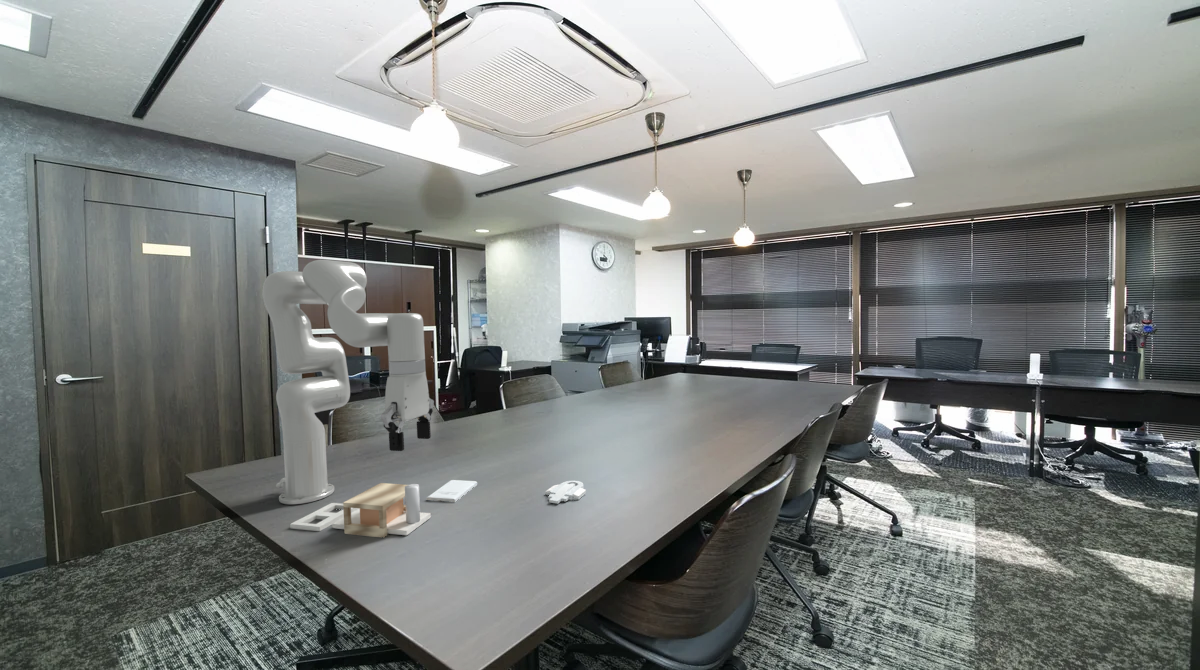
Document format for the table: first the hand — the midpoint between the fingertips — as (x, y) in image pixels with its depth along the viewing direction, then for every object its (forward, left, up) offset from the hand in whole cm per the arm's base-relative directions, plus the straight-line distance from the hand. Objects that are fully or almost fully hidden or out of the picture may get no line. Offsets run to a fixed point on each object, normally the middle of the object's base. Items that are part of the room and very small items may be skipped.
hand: (411, 444), depth 104 cm
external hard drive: (-2, +20, -20) cm, 28 cm away
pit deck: (-24, 0, -19) cm, 30 cm away
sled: (-8, 0, -19) cm, 21 cm away
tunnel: (-8, 0, -19) cm, 21 cm away
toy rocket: (+29, +25, -20) cm, 43 cm away
